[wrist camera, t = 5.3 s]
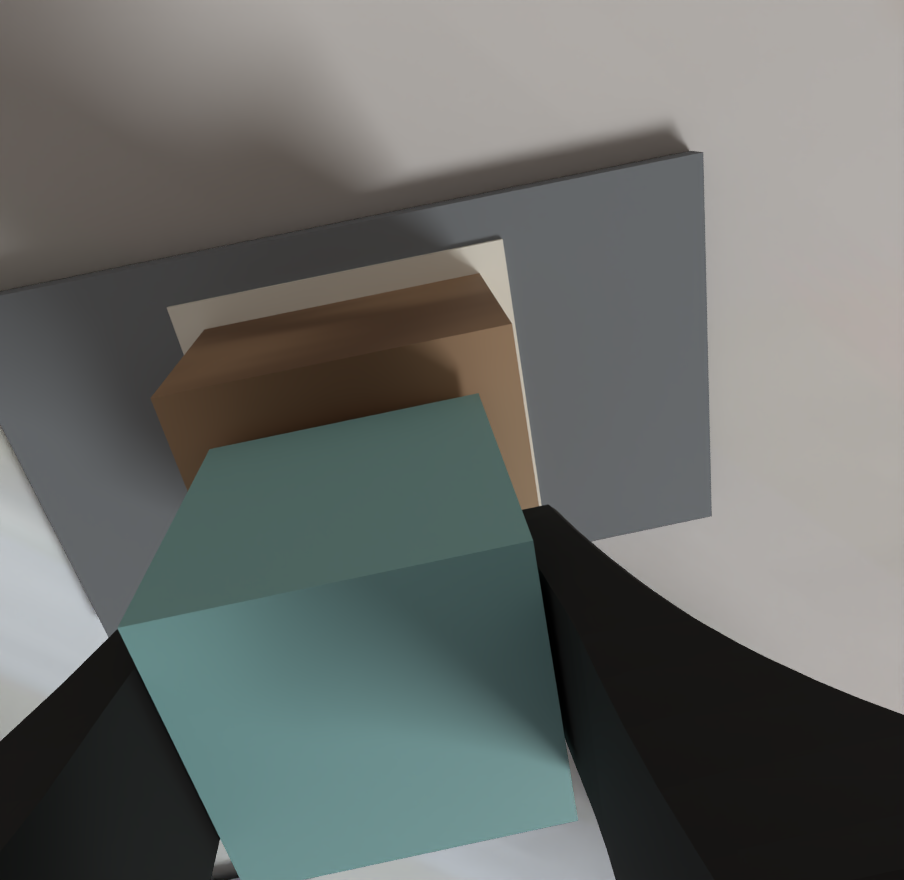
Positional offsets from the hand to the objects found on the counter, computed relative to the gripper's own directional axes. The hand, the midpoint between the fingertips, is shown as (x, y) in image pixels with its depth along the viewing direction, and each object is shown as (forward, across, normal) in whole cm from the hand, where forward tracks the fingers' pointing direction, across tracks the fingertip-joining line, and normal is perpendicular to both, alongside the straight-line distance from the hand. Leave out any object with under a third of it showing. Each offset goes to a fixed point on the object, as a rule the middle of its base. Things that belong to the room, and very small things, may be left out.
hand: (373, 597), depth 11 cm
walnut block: (+6, 0, 0) cm, 6 cm away
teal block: (+2, 0, 0) cm, 2 cm away
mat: (+7, 0, 0) cm, 7 cm away
